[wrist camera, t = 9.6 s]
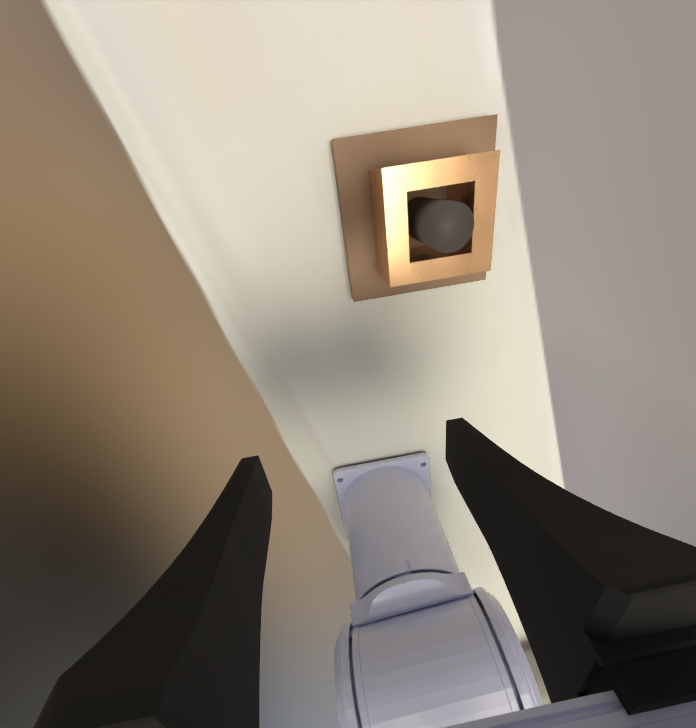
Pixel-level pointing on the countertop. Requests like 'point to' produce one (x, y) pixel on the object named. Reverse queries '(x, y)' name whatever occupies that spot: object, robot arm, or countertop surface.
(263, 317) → the countertop surface
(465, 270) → the collar
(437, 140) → the peg board
